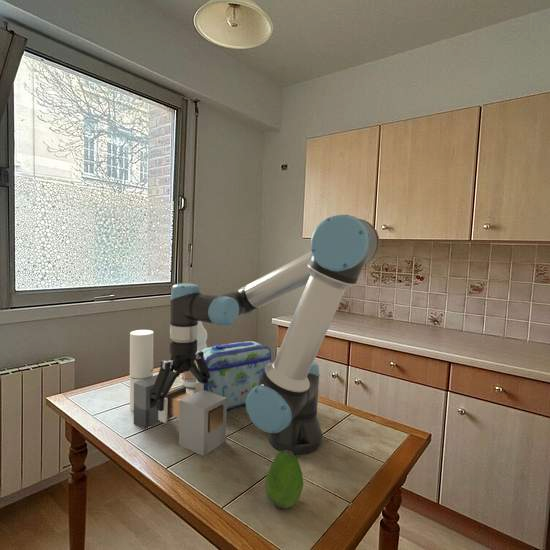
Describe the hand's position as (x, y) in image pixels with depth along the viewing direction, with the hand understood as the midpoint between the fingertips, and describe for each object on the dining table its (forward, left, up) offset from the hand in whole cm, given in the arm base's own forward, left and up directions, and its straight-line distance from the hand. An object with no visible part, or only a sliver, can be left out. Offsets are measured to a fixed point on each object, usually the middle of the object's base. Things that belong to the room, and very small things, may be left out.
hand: (181, 412), depth 106 cm
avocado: (-39, +7, -7) cm, 40 cm away
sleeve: (-8, 0, -7) cm, 11 cm away
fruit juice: (+24, -29, -7) cm, 38 cm away
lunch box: (+1, -25, -7) cm, 26 cm away
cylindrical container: (+23, -4, -7) cm, 24 cm away
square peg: (-3, 0, -2) cm, 3 cm away
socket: (+13, 0, -7) cm, 15 cm away
